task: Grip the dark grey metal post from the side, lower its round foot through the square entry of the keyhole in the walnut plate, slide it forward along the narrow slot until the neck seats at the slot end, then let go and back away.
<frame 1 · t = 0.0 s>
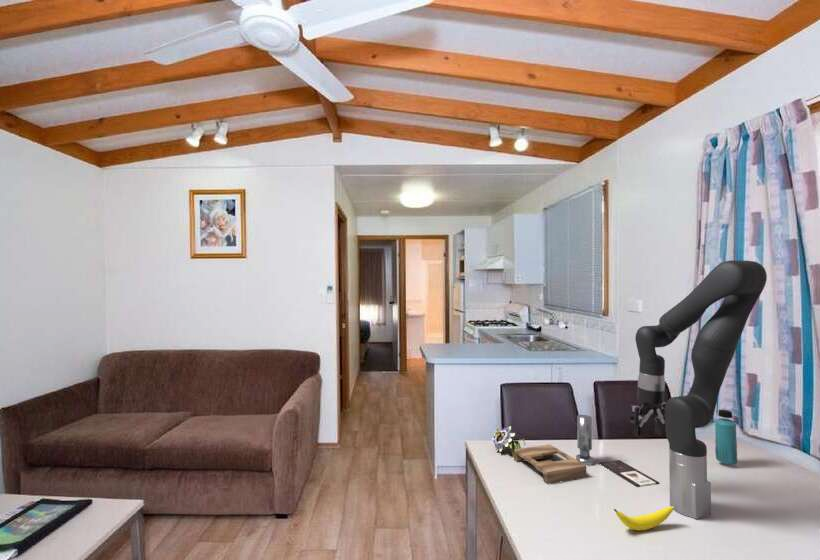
hand: (648, 435, 134), 17 cm above the table, tool pointing down, fingers open, 8 cm apart
keyhole post: (584, 462, 153), on the table
banana: (645, 529, 111), on the table
beverage bottle: (726, 465, 151), on the table
keyhole plate: (548, 468, 148), on the table
chocolate bar: (627, 475, 144), on the table
passion flower: (507, 452, 164), on the table
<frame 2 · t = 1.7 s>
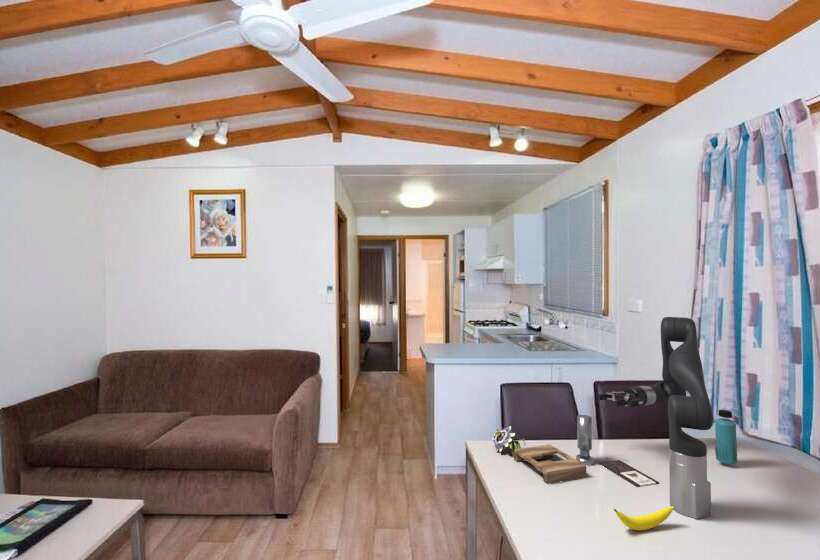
hand: (607, 400, 157), 22 cm above the table, tool horizontal, fingers open, 8 cm apart
nothing on the table moved.
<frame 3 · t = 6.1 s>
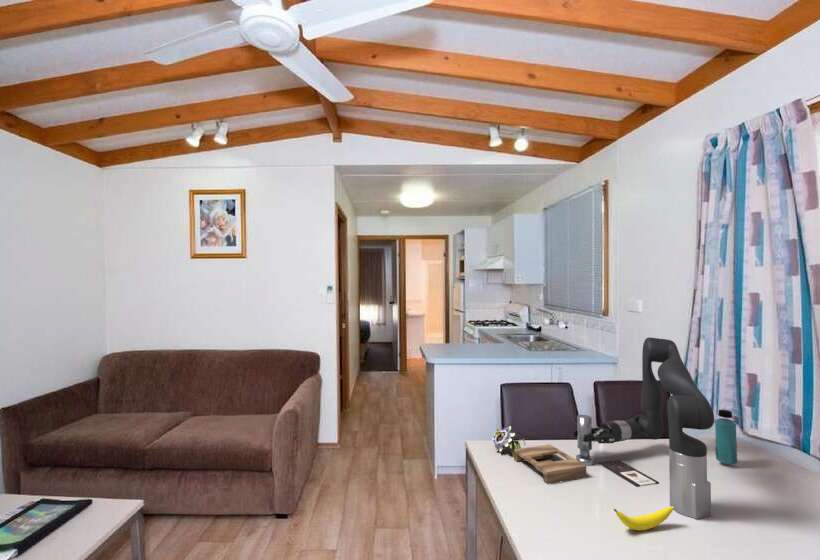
hand: (578, 436, 152), 10 cm above the table, tool horizontal, fingers closed on keyhole post, 5 cm apart
keyhole post: (584, 462, 153), on the table, touching gripper
everything else where it was.
when the fingers open (10 cm above the table, at t = 12.7 s): keyhole post stays where it is, on the table.
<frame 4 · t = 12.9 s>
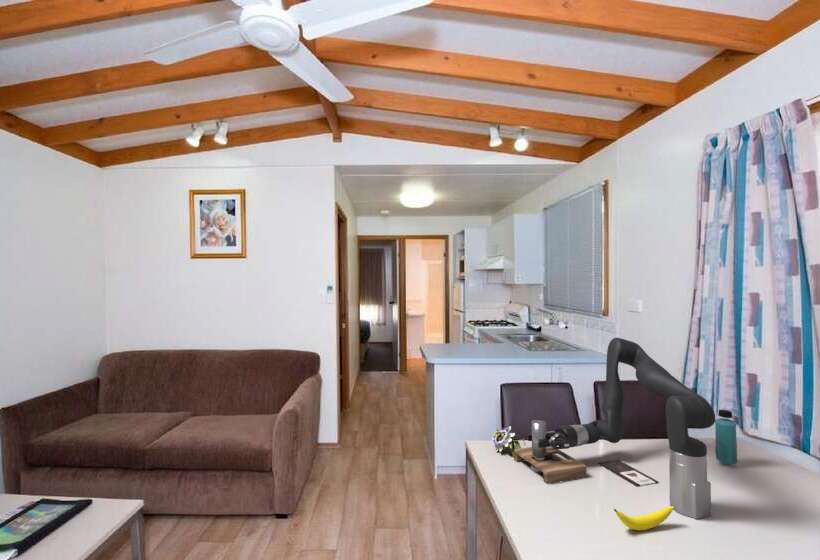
hand: (533, 441, 146), 10 cm above the table, tool horizontal, fingers open, 6 cm apart
keyhole post: (539, 469, 147), on the table
everything else where it was.
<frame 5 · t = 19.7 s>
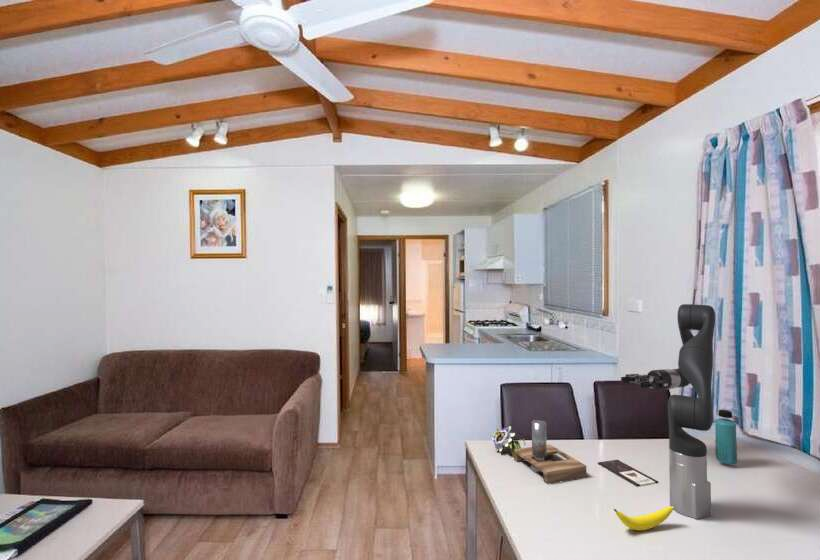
hand: (630, 382, 153), 30 cm above the table, tool horizontal, fingers open, 8 cm apart
nothing on the table moved.
at the end: keyhole post 0.1 cm from the target spot on the keyhole plate, point 0.0 cm above the keyhole plate's base; keyhole post tilted 0°; the gripper is holding nothing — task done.
